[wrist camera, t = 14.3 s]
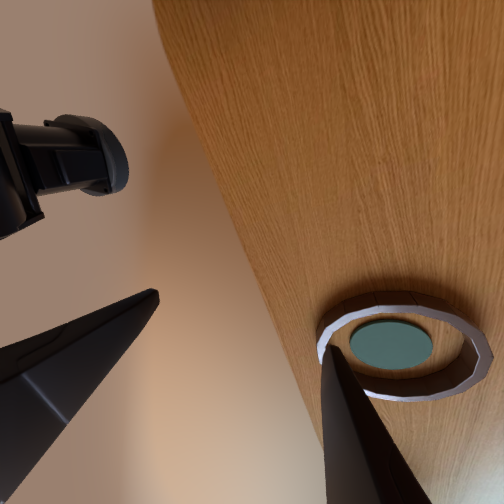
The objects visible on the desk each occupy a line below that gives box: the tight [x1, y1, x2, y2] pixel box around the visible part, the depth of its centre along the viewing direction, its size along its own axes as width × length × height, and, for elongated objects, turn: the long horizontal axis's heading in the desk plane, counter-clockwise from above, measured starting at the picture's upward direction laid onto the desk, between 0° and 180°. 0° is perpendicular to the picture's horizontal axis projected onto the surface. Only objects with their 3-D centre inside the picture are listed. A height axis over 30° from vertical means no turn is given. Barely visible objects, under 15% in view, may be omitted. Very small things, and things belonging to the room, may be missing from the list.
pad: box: [350, 319, 433, 370], centre depth 22 cm, size 8×8×1 cm
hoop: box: [316, 291, 494, 402], centre depth 21 cm, size 15×15×2 cm
